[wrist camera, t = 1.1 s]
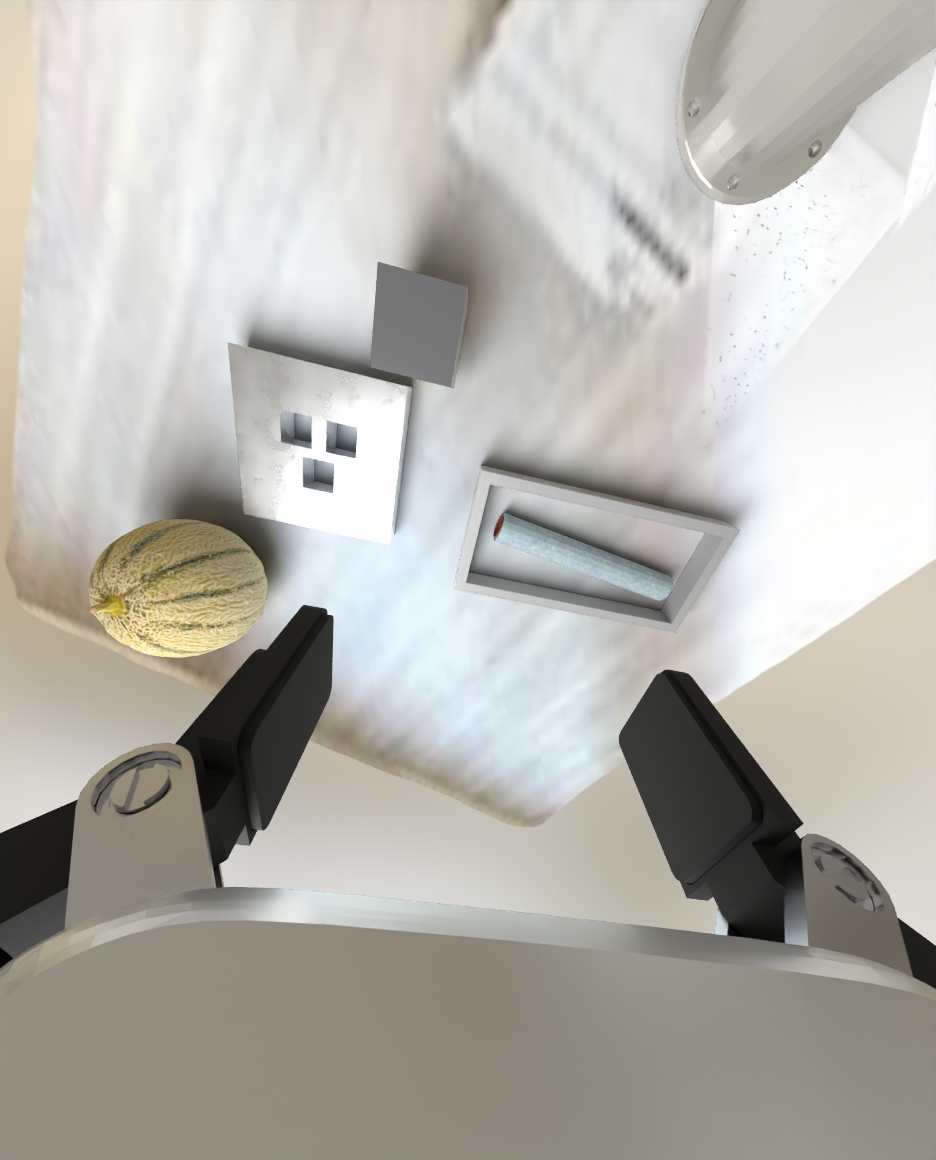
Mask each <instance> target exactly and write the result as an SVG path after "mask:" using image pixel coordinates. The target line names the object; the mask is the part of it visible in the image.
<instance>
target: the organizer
mask: <svg viewBox="0 0 936 1160" xmlns="http://www.w3.org/2000/svg"><path fill="white" fill-rule="evenodd" d="M490 484H491V485H495V486H499V487H504V488H508V489H513V490H517V491H521V492H526V493H530V494H535V495H539V496H544V497H548V498H552V499H557V500H561V501H566V502H570V503H575V504H579V505H583V506H588V507H592V508H597V509H601V510H605V511H610V512H614V513H619V514H623V515H628V516H632V517H636V518H641V519H645V520H650V521H654V522H658V523H663V524H667V525H672V526H676V527H681V528H685V529H689V530H694V531H698V532H703V533H705V535H704V536H703V538H702V540H701V542H700V543H699V545H698V547H697V548H696V550H695V552H694V554H693V555H692V557H691V559H690V561H689V562H688V564H687V566H686V567H685V569H684V571H683V573H682V574H681V576H680V578H679V580H678V581H677V583H676V585H675V586H674V588H673V590H672V592H671V593H670V595H669V597H668V599H667V600H666V602H665V604H664V605H663V607H662V609H661V611H659V610H654V609H649V608H644V607H639V606H635V605H630V604H625V603H620V602H615V601H610V600H605V599H600V598H595V597H590V596H585V595H580V594H575V593H570V592H565V591H560V590H555V589H550V588H545V587H540V586H536V585H531V584H526V583H521V582H516V581H511V580H506V579H501V578H496V577H491V576H486V575H481V574H476V573H471V572H469V568H470V564H471V560H472V556H473V552H474V548H475V544H476V540H477V536H478V531H479V527H480V523H481V519H482V515H483V511H484V507H485V503H486V499H487V495H488V491H489V487H490ZM739 531H740V529H738V528H736V527H734V526H732V525H730V524H728V523H726V522H724V521H722V520H717V519H713V518H709V517H704V516H700V515H696V514H691V513H687V512H683V511H678V510H674V509H670V508H665V507H661V506H657V505H652V504H648V503H644V502H639V501H635V500H631V499H626V498H622V497H618V496H613V495H609V494H605V493H600V492H596V491H592V490H587V489H583V488H579V487H574V486H570V485H566V484H561V483H557V482H553V481H548V480H544V479H540V478H535V477H531V476H527V475H522V474H518V473H514V472H509V471H505V470H501V469H496V468H492V467H488V466H484V465H481V467H480V472H479V476H478V480H477V485H476V489H475V494H474V498H473V502H472V507H471V511H470V516H469V520H468V524H467V529H466V533H465V537H464V542H463V546H462V551H461V555H460V559H459V564H458V568H457V572H456V577H455V586H454V589H455V590H460V591H465V592H470V593H475V594H481V595H486V596H491V597H496V598H501V599H506V600H511V601H516V602H521V603H526V604H531V605H536V606H542V607H547V608H552V609H557V610H562V611H567V612H572V613H577V614H582V615H587V616H592V617H597V618H603V619H608V620H613V621H618V622H623V623H628V624H633V625H638V626H643V627H648V628H653V629H658V630H664V631H669V632H674V633H676V632H677V630H678V628H679V627H680V625H681V624H682V622H683V620H684V619H685V617H686V616H687V614H688V612H689V611H690V609H691V608H692V606H693V604H694V603H695V601H696V600H697V598H698V596H699V595H700V593H701V592H702V590H703V588H704V587H705V585H706V584H707V582H708V581H709V579H710V577H711V576H712V574H713V573H714V571H715V569H716V568H717V566H718V565H719V563H720V561H721V560H722V558H723V557H724V555H725V553H726V552H727V550H728V549H729V547H730V545H731V544H732V542H733V541H734V539H735V537H736V536H737V534H738V533H739Z"/></svg>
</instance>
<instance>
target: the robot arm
mask: <svg viewBox="0 0 936 1160" xmlns="http://www.w3.org/2000/svg"><path fill="white" fill-rule="evenodd" d="M935 47H936V0H709V1H708V3H707V5H706V6H705V8H704V10H703V12H702V15H701V17H700V19H699V21H698V23H697V26H696V28H695V30H694V32H693V34H692V37H691V40H690V43H689V46H688V49H687V52H686V56H685V59H684V62H683V66H682V71H681V76H680V81H679V86H678V91H677V104H676V130H677V141H678V145H679V150H680V154H681V159H682V161H683V164H684V166H685V168H686V171H687V173H688V175H689V177H690V178H691V179H692V181H693V182H694V184H695V185H696V186H697V188H698V189H699V190H700V191H702V192H703V193H704V194H705V195H707V196H708V197H709V198H711V199H713V200H716V201H718V202H721V203H723V204H731V205H743V204H749V203H755V202H758V201H760V200H763V199H765V198H768V197H770V196H772V195H774V194H775V193H777V192H779V191H780V190H782V189H784V188H785V187H787V186H789V185H790V184H791V183H793V182H794V181H795V180H797V179H798V178H799V177H801V176H802V175H803V174H805V173H806V172H807V171H808V170H809V169H810V168H811V167H812V166H813V165H815V164H816V163H817V162H818V161H819V160H820V159H821V158H822V156H823V155H824V154H825V153H826V152H827V150H828V149H829V148H830V147H831V145H832V144H833V143H834V142H835V140H836V139H837V138H838V137H839V135H840V134H841V132H842V130H843V129H844V127H845V126H846V124H847V123H848V121H849V119H850V118H851V116H852V115H853V113H854V111H855V109H856V107H857V106H858V105H859V104H861V103H862V102H863V101H865V100H866V99H867V98H869V97H870V96H871V95H873V94H874V93H875V92H877V91H878V90H879V89H881V88H882V87H883V86H885V85H886V84H887V83H889V82H890V81H891V80H893V79H894V78H895V77H897V76H898V75H899V74H901V73H902V72H903V71H905V70H906V69H907V68H909V67H910V66H911V65H913V64H914V63H915V62H917V61H918V60H919V59H921V58H922V57H923V56H925V55H926V54H927V53H929V52H930V51H931V50H933V49H934V48H935ZM688 112H689V113H690V116H689V115H688ZM727 185H728V186H729V189H728V186H727ZM332 657H333V616H332V615H327V610H326V609H324V608H318V607H313V606H307V605H304V606H302V607H301V608H300V609H299V611H298V612H297V613H296V614H295V616H294V617H293V618H292V619H291V620H290V622H289V623H288V624H287V625H286V627H285V628H284V629H283V630H282V632H281V633H280V634H279V635H278V637H277V638H276V639H275V640H274V642H273V643H272V644H271V645H270V646H269V648H268V649H267V650H264V649H258V650H256V651H255V652H254V653H253V654H251V656H250V657H249V658H248V659H247V660H246V661H245V663H244V664H243V665H242V666H241V667H240V668H239V670H238V671H237V672H236V673H235V674H234V675H233V677H232V678H231V679H230V680H229V681H228V683H227V684H226V685H225V686H224V687H223V688H222V690H221V691H220V692H219V693H218V694H217V695H216V697H215V698H214V699H213V700H212V701H211V702H210V704H209V705H208V706H207V707H206V708H205V710H204V711H203V712H202V713H201V714H200V715H199V717H198V718H197V719H196V720H195V721H194V722H193V724H192V725H191V726H190V727H189V728H188V730H187V731H186V732H185V733H184V734H183V735H182V736H181V738H180V739H179V740H178V741H177V742H176V744H171V743H161V744H152V745H148V746H144V747H140V748H137V749H135V750H132V751H130V752H128V753H126V754H123V755H121V756H119V757H118V758H116V759H115V760H113V761H111V762H110V763H108V764H107V765H105V766H104V767H103V768H102V769H101V770H99V772H97V773H96V774H95V775H94V776H93V777H92V778H91V779H90V780H89V781H88V783H87V784H86V786H85V787H84V788H83V790H82V791H81V792H80V795H79V799H78V800H76V801H74V802H71V803H69V804H66V805H64V806H62V807H60V808H57V809H55V810H53V811H50V812H48V813H46V814H43V815H41V816H39V817H36V818H34V819H32V820H30V821H27V822H25V823H23V824H21V825H18V826H16V827H13V828H11V829H9V830H6V831H4V832H2V833H0V1160H936V946H935V945H934V944H933V943H931V942H930V941H929V940H927V939H926V938H925V937H923V936H922V935H921V934H919V933H918V932H916V931H915V930H914V929H912V928H911V927H910V926H908V925H907V924H906V923H904V922H903V921H902V920H900V919H899V918H897V915H896V911H895V907H894V905H893V903H892V901H891V899H890V896H889V894H888V893H887V891H886V890H885V888H884V887H883V885H882V884H881V882H880V881H879V880H878V879H877V878H876V877H875V876H874V874H873V873H872V872H871V871H870V870H869V869H868V868H867V867H866V866H865V865H864V864H863V863H862V862H861V861H860V860H859V859H858V858H856V857H855V856H854V855H853V854H851V853H850V852H849V851H847V850H846V849H845V848H843V847H842V846H841V845H839V844H837V843H835V842H834V841H832V840H830V839H828V838H826V837H823V836H820V835H817V834H807V835H806V836H804V837H802V838H801V839H800V838H799V836H798V835H797V834H796V832H795V830H796V829H797V828H799V827H800V826H801V825H802V824H803V822H802V821H801V820H800V818H799V817H798V816H797V815H796V813H795V812H794V811H793V809H792V808H791V807H790V805H789V804H788V803H787V801H786V800H785V799H784V797H783V796H782V795H781V793H780V792H779V791H778V789H777V788H776V787H775V786H774V784H773V783H772V782H771V780H770V779H769V778H768V777H767V775H766V774H765V772H764V771H763V770H762V769H761V767H760V766H759V765H758V763H757V762H756V761H755V759H754V758H753V757H752V755H751V754H750V753H749V752H748V750H747V749H746V748H745V746H744V745H743V744H742V742H741V741H740V740H739V739H738V737H737V736H736V735H735V733H734V732H733V731H732V729H731V728H730V727H729V725H728V724H727V723H726V721H725V720H724V719H723V718H722V716H721V715H720V714H719V712H718V711H717V710H716V708H715V707H714V706H713V704H712V703H711V702H710V700H709V699H708V698H707V697H706V695H705V694H704V693H703V691H702V690H701V689H700V687H699V686H698V685H697V683H696V682H695V681H694V679H693V678H692V677H691V676H690V675H689V674H687V673H684V672H679V671H673V670H664V671H662V672H661V674H657V675H656V676H655V678H654V679H653V681H652V683H651V684H650V686H649V687H648V689H647V691H646V692H645V694H644V695H643V697H642V698H641V700H640V702H639V703H638V705H637V706H636V708H635V710H634V711H633V713H632V714H631V716H630V718H629V719H628V721H627V722H626V724H625V726H624V727H623V729H622V730H621V732H620V735H619V744H620V747H621V749H622V752H623V754H624V757H625V759H626V762H627V764H628V766H629V769H630V771H631V774H632V776H633V779H634V781H635V783H636V786H637V788H638V791H639V793H640V796H641V798H642V800H643V803H644V805H645V808H646V810H647V813H648V815H649V817H650V820H651V822H652V825H653V827H654V830H655V832H656V834H657V837H658V839H659V842H660V844H661V846H662V849H663V851H664V854H665V856H666V859H667V861H668V863H669V866H670V868H671V871H672V872H673V875H674V876H675V878H676V879H677V880H679V881H680V883H681V885H682V887H683V889H684V892H685V895H686V897H687V898H691V899H699V900H709V899H711V898H712V897H714V899H715V901H716V903H717V905H718V910H717V918H716V925H715V933H714V934H709V933H700V932H691V931H683V930H674V929H666V928H657V927H649V926H639V925H631V924H622V923H614V922H605V921H596V920H587V919H577V918H569V917H560V916H551V915H542V914H532V913H524V912H515V911H506V910H496V909H487V908H478V907H468V906H458V905H448V904H440V903H430V902H421V901H411V900H402V899H392V898H383V897H374V896H364V895H351V894H340V893H327V892H316V891H304V890H293V889H281V888H245V887H225V888H224V883H223V877H222V871H221V866H220V864H221V863H222V862H224V861H225V860H227V859H228V857H229V855H230V853H231V851H232V849H233V847H234V845H235V844H239V845H249V846H250V844H251V842H252V840H253V838H254V836H255V834H256V832H257V830H265V829H266V828H267V826H268V825H269V823H270V821H271V819H272V817H273V815H274V813H275V810H276V808H277V806H278V804H279V802H280V800H281V798H282V796H283V794H284V791H285V790H286V787H287V785H288V783H289V781H290V779H291V777H292V775H293V773H294V771H295V769H296V766H297V764H298V762H299V760H300V758H301V756H302V754H303V752H304V750H305V747H306V745H307V743H308V741H309V739H310V737H311V735H312V733H313V731H314V729H315V727H316V724H317V722H318V720H319V718H320V716H321V714H322V712H323V710H324V708H325V706H326V703H327V701H328V699H329V696H330V693H331V688H332Z"/></svg>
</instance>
